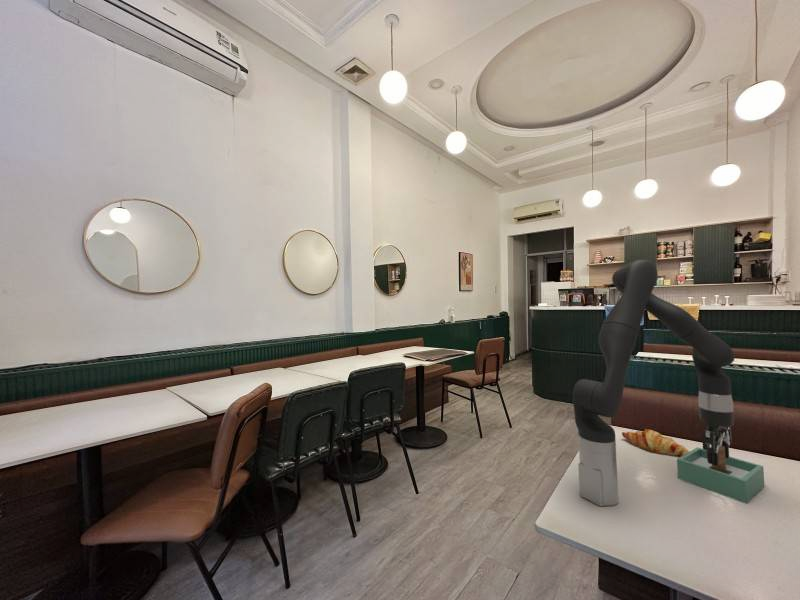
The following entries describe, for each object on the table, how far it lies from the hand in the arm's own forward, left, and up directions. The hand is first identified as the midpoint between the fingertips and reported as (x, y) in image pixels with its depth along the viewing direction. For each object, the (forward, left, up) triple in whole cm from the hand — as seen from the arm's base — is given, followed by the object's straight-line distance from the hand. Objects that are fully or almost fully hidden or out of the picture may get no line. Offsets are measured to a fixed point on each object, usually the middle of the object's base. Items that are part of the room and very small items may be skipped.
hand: (718, 460), depth 97 cm
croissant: (+10, +21, -7) cm, 24 cm away
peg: (0, 0, -6) cm, 6 cm away
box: (0, 0, -7) cm, 7 cm away
